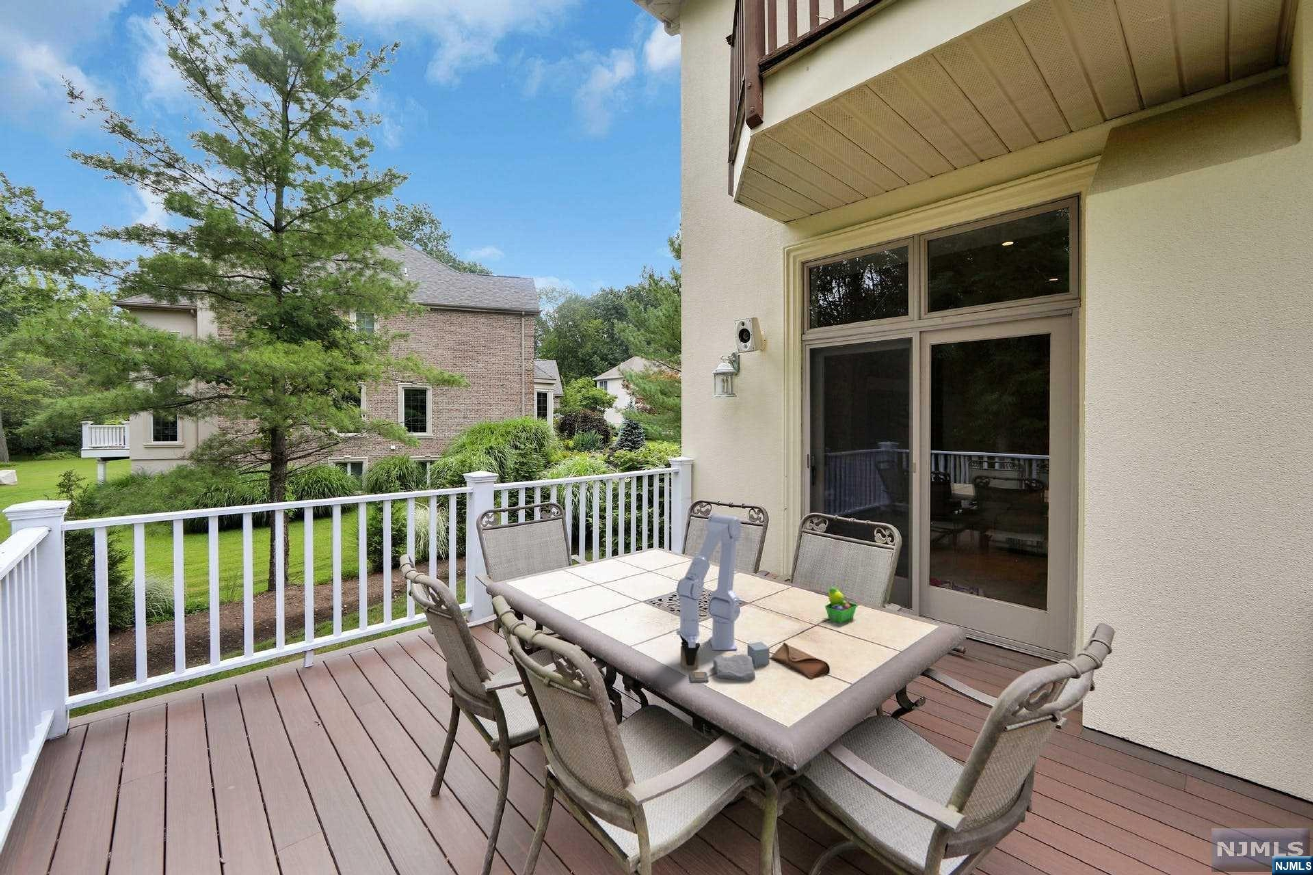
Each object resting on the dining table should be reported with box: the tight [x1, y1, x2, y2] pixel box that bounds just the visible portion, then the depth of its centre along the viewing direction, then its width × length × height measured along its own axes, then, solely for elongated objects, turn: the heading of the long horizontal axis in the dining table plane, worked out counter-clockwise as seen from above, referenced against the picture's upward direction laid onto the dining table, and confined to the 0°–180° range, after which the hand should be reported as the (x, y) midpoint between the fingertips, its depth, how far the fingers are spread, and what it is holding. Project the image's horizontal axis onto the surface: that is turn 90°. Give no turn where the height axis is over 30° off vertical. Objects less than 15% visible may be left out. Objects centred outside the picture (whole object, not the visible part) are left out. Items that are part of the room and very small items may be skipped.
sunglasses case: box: [769, 642, 831, 680], centre depth 162 cm, size 18×7×7 cm
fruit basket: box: [824, 586, 858, 624], centre depth 200 cm, size 11×9×11 cm
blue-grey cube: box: [746, 641, 770, 667], centre depth 164 cm, size 5×5×5 cm
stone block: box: [713, 653, 756, 682], centre depth 156 cm, size 12×5×10 cm
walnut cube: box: [680, 645, 699, 670], centre depth 161 cm, size 5×5×5 cm
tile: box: [689, 671, 710, 683], centre depth 153 cm, size 5×5×1 cm
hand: (689, 660), depth 161 cm, fingers closed on walnut cube, 5 cm apart
